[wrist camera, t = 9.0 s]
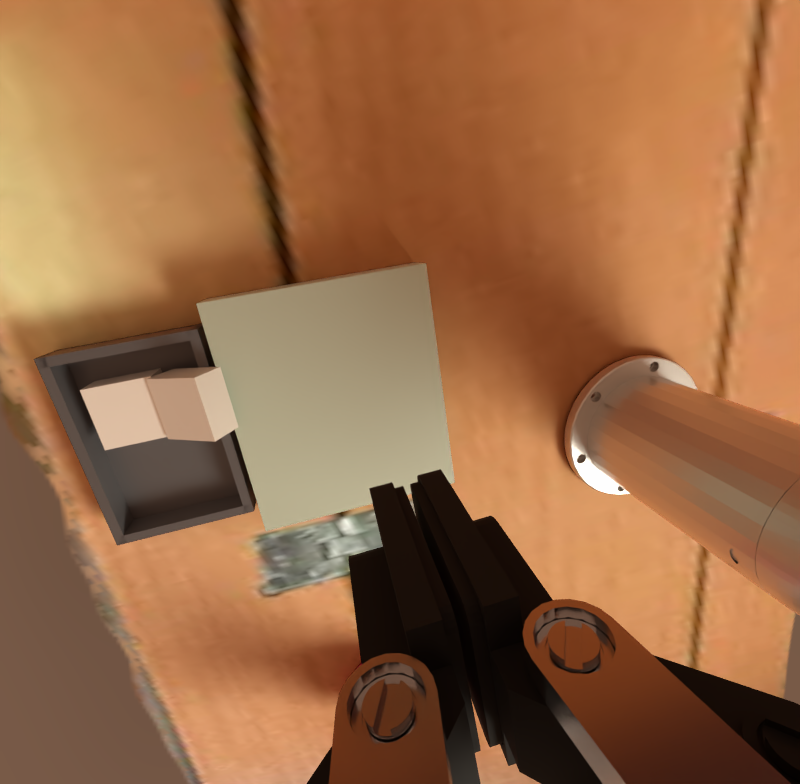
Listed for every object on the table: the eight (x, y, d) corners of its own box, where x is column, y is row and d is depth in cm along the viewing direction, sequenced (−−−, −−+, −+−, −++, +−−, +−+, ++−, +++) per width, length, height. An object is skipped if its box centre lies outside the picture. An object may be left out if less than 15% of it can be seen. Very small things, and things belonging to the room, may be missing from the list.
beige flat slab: (414, 262, 30) (426, 263, 28) (442, 464, 36) (454, 482, 33) (206, 298, 28) (196, 303, 25) (269, 508, 33) (266, 531, 31)
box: (205, 323, 29) (197, 329, 26) (257, 492, 33) (254, 511, 31) (56, 350, 27) (33, 359, 25) (130, 523, 31) (117, 545, 29)
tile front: (220, 366, 26) (194, 377, 24) (238, 427, 27) (215, 441, 26) (173, 368, 28) (146, 379, 26) (193, 425, 29) (168, 439, 27)
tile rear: (79, 390, 26) (94, 381, 28) (104, 450, 27) (117, 437, 29) (150, 376, 26) (160, 368, 28) (172, 435, 28) (180, 424, 30)
